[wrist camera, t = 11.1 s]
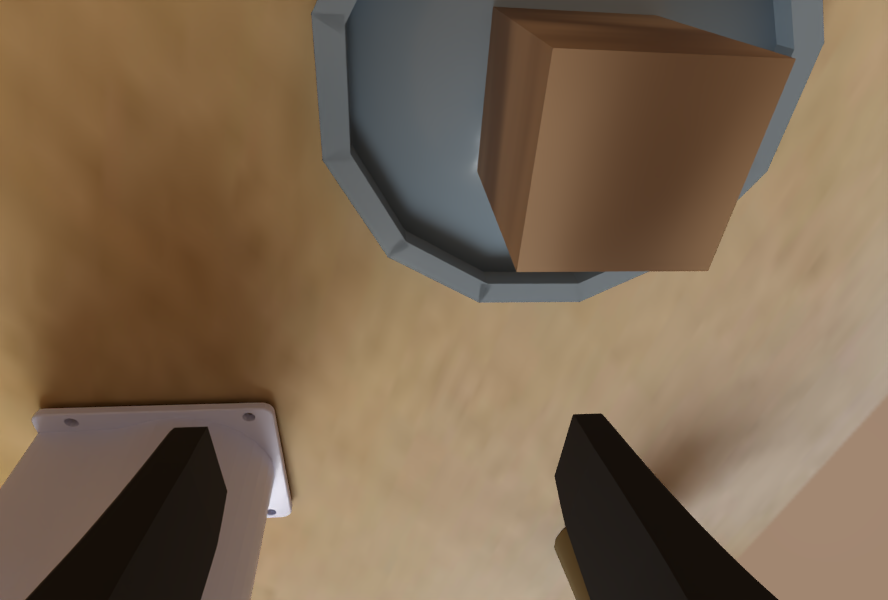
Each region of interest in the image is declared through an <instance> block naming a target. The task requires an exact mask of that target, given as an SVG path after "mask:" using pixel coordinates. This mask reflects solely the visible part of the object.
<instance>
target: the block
mask: <svg viewBox="0 0 888 600" xmlns="http://www.w3.org/2000/svg"><path fill="white" fill-rule="evenodd" d="M795 60H796V59H795V58H792V57H789V56H786V55H782V54H779V53H776V52H773V51H770V50H766V49H763V48H760V47H757V46H753V45H750V44H747V43H744V42H740V41H737V40H734V39H731V38H728V37H724V36H721V35H718V34H715V33H711V32H708V31H705V30H702V29H699V28H695V27H692V26H689V25H686V24H682V23H679V22H676V21H673V20H669V19H666V18H663V17H660V16H657V15H641V14H622V13H603V12H584V11H565V10H546V9H527V8H508V7H493V11H492V22H491V32H490V42H489V53H488V63H487V74H486V84H485V94H484V105H483V115H482V126H481V136H480V146H479V157H478V167H477V172H478V175H479V177H480V180H481V183H482V185H483V188H484V190H485V193H486V195H487V198H488V200H489V203H490V205H491V208H492V211H493V213H494V216H495V218H496V221H497V223H498V226H499V228H500V231H501V233H502V236H503V239H504V241H505V244H506V246H507V249H508V251H509V254H510V256H511V259H512V261H513V264H514V266H515V269H516V272H618V271H708V270H709V267H710V265H711V263H712V260H713V258H714V255H715V253H716V251H717V248H718V246H719V243H720V241H721V239H722V236H723V234H724V231H725V229H726V226H727V224H728V222H729V219H730V217H731V214H732V212H733V210H734V207H735V205H736V202H737V200H738V198H739V195H740V193H741V190H742V188H743V186H744V183H745V181H746V178H747V176H748V173H749V171H750V169H751V166H752V164H753V161H754V159H755V157H756V154H757V152H758V149H759V147H760V145H761V142H762V140H763V137H764V135H765V133H766V130H767V128H768V125H769V123H770V120H771V118H772V116H773V113H774V111H775V108H776V106H777V104H778V101H779V99H780V96H781V94H782V92H783V89H784V87H785V84H786V82H787V80H788V77H789V75H790V72H791V70H792V67H793V65H794V63H795Z"/></svg>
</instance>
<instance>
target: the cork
mask: <svg viewBox="0 0 888 600" xmlns="http://www.w3.org/2000/svg"><path fill="white" fill-rule="evenodd" d="M554 548H555V550H556V553H557V555H558V558H559V560H560V562H561V565H562V567H563V569H564V572H565V574H566V577H567V579H568V581H569V584H570V586H571V589H572V591H573V593H574V596H575V598H576V600H590V597H589V595H588V592H587V589H586V586H585V583H584V580H583V577H582V574H581V571H580V568H579V565H578V562H577V559H576V556H575V553H574V550H573V547H572V544H571V541H570V538H569V535H568V532H567V529H566V528H565V529H563V530H562V531H561V533H560V534H559V535H558V537H557V538H556V540H555V546H554Z"/></svg>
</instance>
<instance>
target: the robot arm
mask: <svg viewBox="0 0 888 600" xmlns="http://www.w3.org/2000/svg"><path fill="white" fill-rule="evenodd" d="M248 413H252V414H248ZM32 423H33V425H34V427H35V429H36V430H37V432H38V434H37V436H36V437H35V439H34V440H33V442H32V443H31V445H30V446H29V448H28V449H27V450H26V452H25V453H24V455H23V456H22V458H21V459H20V461H19V462H18V464H17V465H16V466H15V468H14V469H13V471H12V472H11V474H10V475H9V477H8V478H7V480H6V481H5V483H4V484H3V485H2V487H1V488H0V600H250V599H251V594H252V589H253V584H254V579H255V574H256V569H257V564H258V559H259V554H260V549H261V543H262V538H263V533H264V528H265V523H266V518H271V517H285V516H287V515H289V514H290V513H291V510H292V501H291V496H290V490H289V485H288V480H287V474H286V469H285V464H284V458H283V453H282V447H281V442H280V437H279V431H278V426H277V421H276V415H275V410H274V408H273V407H272V406H271V405H270V404H267V403H225V404H190V405H154V406H118V407H83V408H47V409H40V410H38V411H37V412H36V413H35V414H34V416H33V417H32ZM555 480H556V485H557V490H558V495H559V500H560V505H561V509H562V513H563V518H564V522H565V526H566V529H567V532H568V535H569V538H570V541H571V544H572V547H573V550H574V553H575V556H576V559H577V562H578V565H579V568H580V571H581V574H582V577H583V580H584V583H585V586H586V589H587V592H588V595H589V597H590V600H778V599H777V598H776V597H775V596H773V595H772V594H771V593H770V592H769V591H768V590H767V589H766V588H765V587H764V586H762V585H761V584H760V583H759V582H758V581H757V580H756V579H755V578H754V577H753V576H752V575H750V574H749V573H748V572H747V571H746V570H745V569H744V568H743V567H742V566H741V565H740V564H739V563H738V562H737V561H736V560H735V559H734V558H733V557H732V556H731V555H730V554H729V553H728V552H727V551H726V550H725V549H724V548H723V547H722V546H721V545H720V544H719V543H718V542H717V541H716V540H715V539H714V538H713V537H712V536H711V535H710V534H709V533H708V532H707V531H706V530H705V529H704V528H703V527H702V526H701V525H700V524H699V523H698V522H697V521H696V520H695V519H694V518H693V517H692V516H691V515H690V513H689V512H688V511H687V510H686V509H685V508H684V507H683V506H682V505H681V504H680V503H679V501H678V500H677V499H676V498H675V497H674V496H673V495H672V494H671V493H670V492H669V491H668V489H667V488H666V487H665V486H664V485H663V484H662V483H661V482H660V481H659V479H658V478H657V477H656V476H655V475H654V474H653V473H652V472H651V470H650V469H649V468H648V467H647V466H646V465H645V463H644V462H643V461H642V460H641V459H640V458H639V456H638V455H637V454H636V453H635V452H634V451H633V449H632V448H631V447H630V446H629V445H628V444H627V442H626V441H625V440H624V439H623V438H622V437H621V435H620V434H619V433H618V432H617V431H616V429H615V428H614V427H613V426H612V425H611V424H610V422H609V421H608V420H607V419H606V418H605V417H604V416H603V415H602V414H573V417H572V420H571V423H570V427H569V430H568V433H567V437H566V440H565V443H564V447H563V450H562V453H561V457H560V460H559V463H558V467H557V470H556V473H555Z"/></svg>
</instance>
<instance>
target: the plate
mask: <svg viewBox="0 0 888 600" xmlns="http://www.w3.org/2000/svg"><path fill="white" fill-rule="evenodd" d="M493 7H508V8H527V9H546V10H565V11H584V12H603V13H622V14H641V15H657V16H660V17H663V18H666V19H669V20H673V21H676V22H679V23H682V24H686V25H689V26H692V27H695V28H699V29H702V30H705V31H708V32H711V33H715V34H718V35H721V36H724V37H728V38H731V39H734V40H737V41H740V42H744V43H747V44H750V45H753V46H757V47H760V48H763V49H766V50H770V51H773V52H776V53H779V54H782V55H786V56H789V57H792V58H795V59H796V60H795V63H794V65H793V67H792V70H791V72H790V75H789V77H788V80H787V82H786V84H785V87H784V89H783V92H782V94H781V96H780V99H779V101H778V104H777V106H776V108H775V111H774V113H773V116H772V118H771V120H770V123H769V125H768V128H767V130H766V133H765V135H764V137H763V140H762V142H761V145H760V147H759V149H758V152H757V154H756V157H755V159H754V161H753V164H752V166H751V169H750V171H749V173H748V176H747V178H746V181H745V183H744V186H743V188H742V190H741V193H740V195H739V198H738V200H739V199H740V198H741V197H742V196H743V195H744V194H745V193H746V192H747V191H748V190H749V189H750V188H751V187H752V186H753V185H754V184H755V183H756V182H757V181H758V180H759V179H760V178H761V177H762V176H763V175H764V174H765V173H766V172H767V171H768V168H769V166H770V164H771V161H772V159H773V157H774V155H775V152H776V150H777V148H778V146H779V143H780V141H781V139H782V136H783V134H784V132H785V130H786V127H787V125H788V123H789V121H790V118H791V116H792V114H793V112H794V109H795V107H796V105H797V103H798V100H799V98H800V96H801V93H802V91H803V89H804V87H805V84H806V82H807V80H808V78H809V75H810V73H811V71H812V69H813V66H814V64H815V62H816V59H817V57H818V55H819V53H820V50H821V48H822V46H823V44H824V25H823V0H317V2H316V5H315V7H314V9H313V11H312V12H311V15H312V28H313V41H314V54H315V67H316V80H317V93H318V106H319V119H320V132H321V145H322V158H323V159H322V160H323V162H324V163H325V165H326V166H327V167H328V169H329V170H330V172H331V173H332V175H333V176H334V178H335V179H336V181H337V182H338V184H339V185H340V187H341V188H342V190H343V191H344V193H345V194H346V196H347V197H348V199H349V200H350V202H351V203H352V205H353V206H354V208H355V209H356V210H357V212H358V213H359V215H360V216H361V218H362V219H363V221H364V222H365V224H366V225H367V227H368V228H369V230H370V231H371V233H372V234H373V236H374V237H375V239H376V240H377V242H378V243H379V245H380V246H381V248H382V249H383V251H384V252H385V254H386V255H387V257H388V258H391V259H393V260H395V261H397V262H399V263H401V264H403V265H405V266H407V267H409V268H411V269H413V270H415V271H417V272H419V273H421V274H423V275H425V276H427V277H429V278H431V279H433V280H435V281H437V282H439V283H441V284H443V285H445V286H447V287H449V288H451V289H453V290H455V291H457V292H459V293H461V294H463V295H465V296H467V297H469V298H471V299H473V300H475V301H477V302H479V303H480V302H580V301H582V300H585V299H587V298H589V297H592V296H594V295H596V294H598V293H601V292H603V291H605V290H608V289H610V288H612V287H614V286H617V285H619V284H621V283H624V282H626V281H628V280H630V279H633V278H635V277H637V276H640V275H642V274H644V273H646V272H649V271H618V272H516V269H515V266H514V264H513V261H512V259H511V256H510V254H509V251H508V249H507V246H506V244H505V241H504V239H503V236H502V233H501V231H500V228H499V226H498V223H497V221H496V218H495V216H494V213H493V211H492V208H491V205H490V203H489V200H488V198H487V195H486V193H485V190H484V188H483V185H482V183H481V180H480V177H479V175H478V172H477V167H478V157H479V146H480V136H481V126H482V115H483V105H484V94H485V84H486V74H487V63H488V53H489V42H490V32H491V22H492V11H493ZM738 200H737V201H738Z"/></svg>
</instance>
